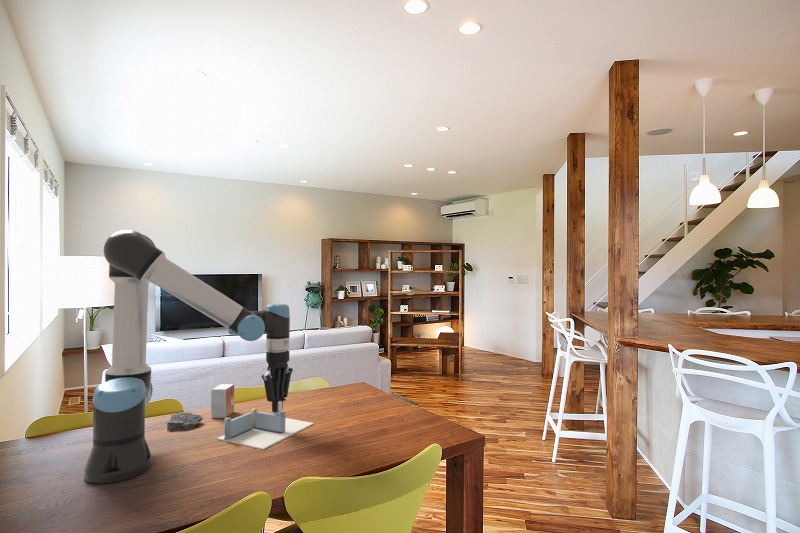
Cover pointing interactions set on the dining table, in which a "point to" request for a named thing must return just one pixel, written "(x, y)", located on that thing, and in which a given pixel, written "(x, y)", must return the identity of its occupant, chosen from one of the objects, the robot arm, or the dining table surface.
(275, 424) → the swing fence panel
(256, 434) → the card
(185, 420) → the rock
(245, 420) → the fixed fence panel
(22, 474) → the dining table surface
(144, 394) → the robot arm
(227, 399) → the small box
